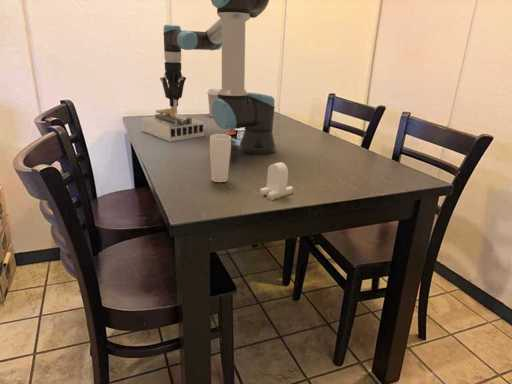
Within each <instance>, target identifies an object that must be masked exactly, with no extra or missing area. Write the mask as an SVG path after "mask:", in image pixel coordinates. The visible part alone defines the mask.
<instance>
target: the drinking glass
mask: <svg viewBox="0 0 512 384" xmlns="http://www.w3.org/2000/svg"><path fill="white" fill-rule="evenodd" d="M209 136H210V137H209V154H210V155H209V157H210V159H209V160H210V169H211V170H210V171H211V181H212V182H213V181H214V182H213V183H215V182H225V183H227V182H228V180H229V169H230V161H231V150H232V136H231V135H229V134H223V133H215V134H211V135H209ZM226 181H227V182H226Z"/></svg>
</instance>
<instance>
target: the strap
mask: <svg viewBox="0 0 512 384" xmlns="http://www.w3.org/2000/svg"><path fill="white" fill-rule="evenodd" d="M154 116H155V117H158V118H161V119H165V120H168V121H171V122H175V119H179V118H176V117H172V116H169V115H165V114H159V113H157V114H154ZM179 120H180V125H183V124H188V120H183V119H179Z"/></svg>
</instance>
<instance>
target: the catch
mask: <svg viewBox="0 0 512 384" xmlns="http://www.w3.org/2000/svg"><path fill="white" fill-rule="evenodd" d="M155 113H157V114H165V115H169V116H172V117H175V110H174V109H171V107H170V108H165V109H157V110H156V109H155Z"/></svg>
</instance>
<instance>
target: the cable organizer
mask: <svg viewBox="0 0 512 384" xmlns="http://www.w3.org/2000/svg"><path fill="white" fill-rule="evenodd" d="M288 179H289V170H288V166H287V164H286V163H284V162H281V161H280V162H276V163H272V164H270V165H269V166H268V168H267V177H266V186H265V187H261V188H260V191H259V193H260V192H261V193H266V192H269V193H268V195H267V197H268V196H270V197H273V196H276V195H279V194H283V193H285V192H288V191H291V190H293V191H294V187H293V186H291V185H289V186H288V181H289V180H288Z"/></svg>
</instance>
